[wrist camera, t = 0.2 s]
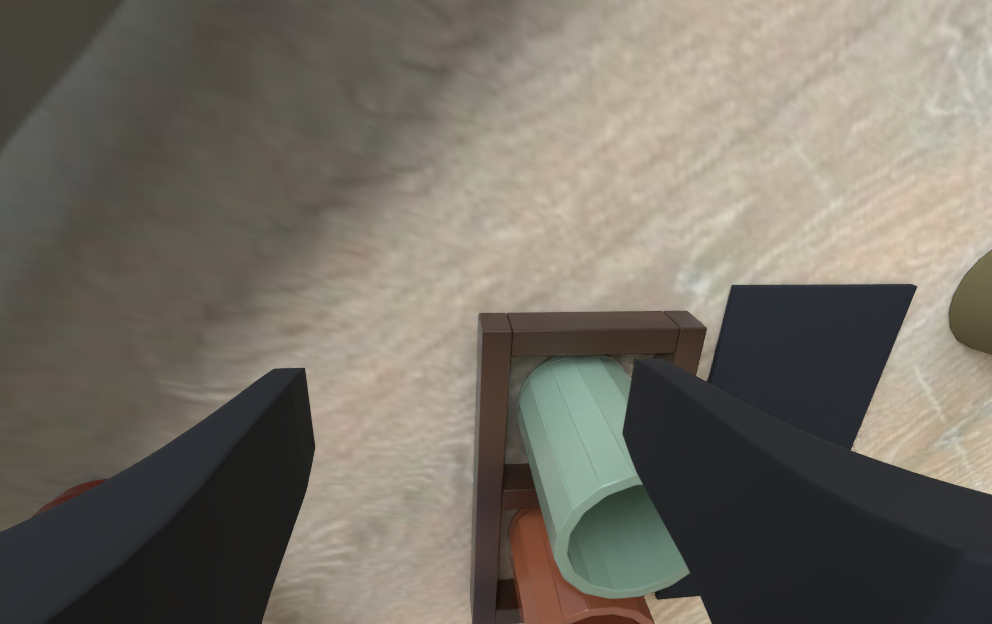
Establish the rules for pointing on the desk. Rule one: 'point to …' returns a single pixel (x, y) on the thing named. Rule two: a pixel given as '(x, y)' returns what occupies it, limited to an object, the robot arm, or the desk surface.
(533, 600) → the terracotta cup
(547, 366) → the cup
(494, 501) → the holder
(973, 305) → the olive pepper mill
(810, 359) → the desk mat
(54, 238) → the desk surface
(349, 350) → the desk surface
